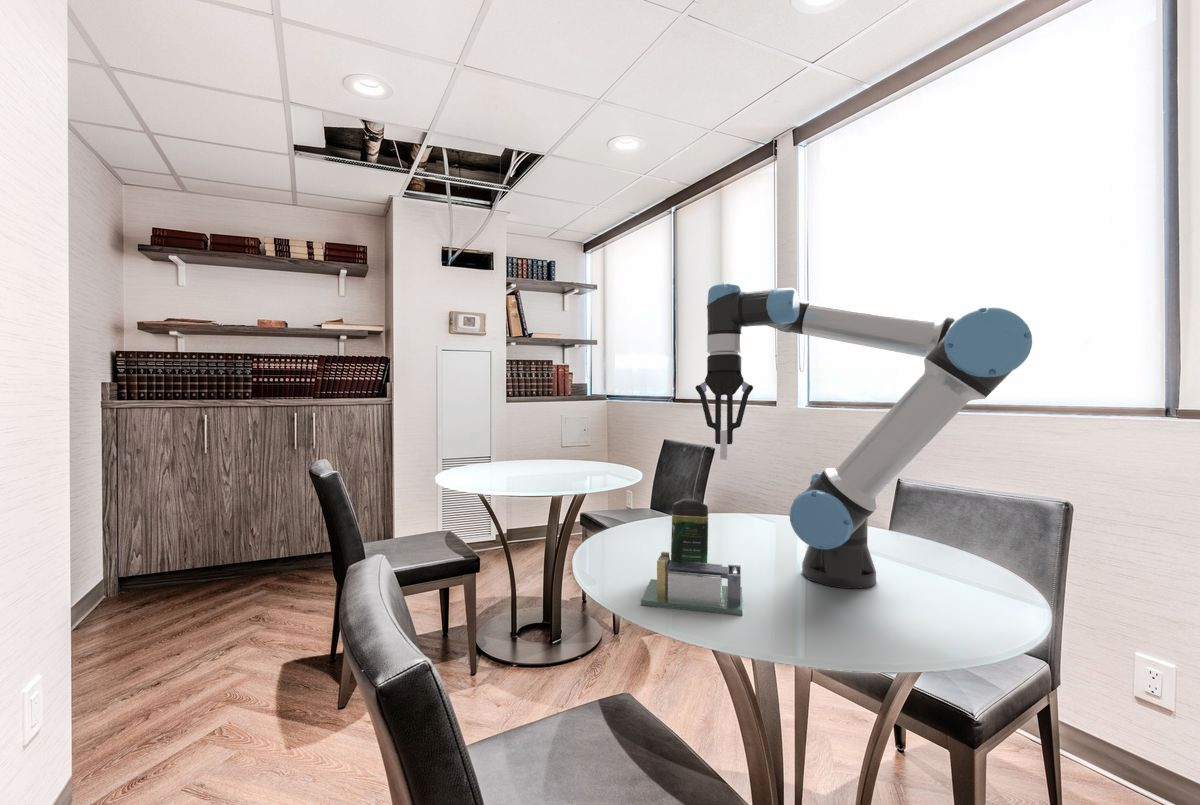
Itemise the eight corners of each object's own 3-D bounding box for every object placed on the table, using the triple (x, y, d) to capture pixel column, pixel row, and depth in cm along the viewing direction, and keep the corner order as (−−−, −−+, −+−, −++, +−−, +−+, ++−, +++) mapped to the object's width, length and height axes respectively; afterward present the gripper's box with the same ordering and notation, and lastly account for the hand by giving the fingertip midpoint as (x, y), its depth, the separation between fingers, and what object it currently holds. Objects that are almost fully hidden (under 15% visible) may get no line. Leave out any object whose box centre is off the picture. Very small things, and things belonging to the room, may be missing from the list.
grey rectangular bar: (729, 572, 107) (729, 564, 107) (728, 578, 103) (729, 570, 103) (659, 563, 110) (660, 555, 110) (656, 569, 107) (657, 561, 107)
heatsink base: (741, 592, 110) (741, 553, 110) (742, 615, 99) (742, 572, 99) (650, 583, 115) (650, 547, 115) (641, 605, 103) (641, 564, 103)
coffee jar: (709, 591, 110) (710, 500, 113) (671, 588, 111) (672, 498, 114) (704, 581, 120) (705, 498, 122) (669, 579, 121) (671, 496, 123)
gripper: (753, 355, 122) (753, 457, 122) (696, 356, 125) (695, 456, 126) (754, 352, 115) (754, 461, 115) (693, 353, 118) (693, 459, 119)
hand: (723, 458), depth 121 cm, fingers closed
